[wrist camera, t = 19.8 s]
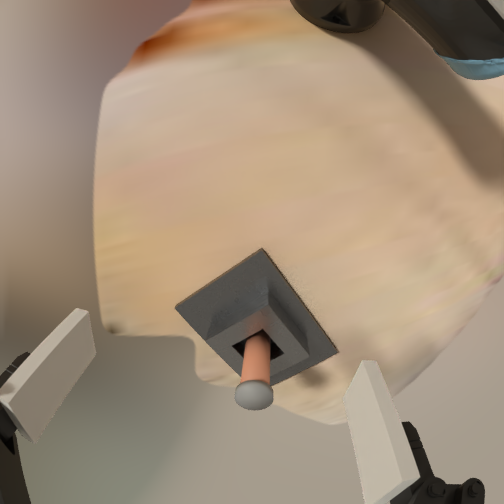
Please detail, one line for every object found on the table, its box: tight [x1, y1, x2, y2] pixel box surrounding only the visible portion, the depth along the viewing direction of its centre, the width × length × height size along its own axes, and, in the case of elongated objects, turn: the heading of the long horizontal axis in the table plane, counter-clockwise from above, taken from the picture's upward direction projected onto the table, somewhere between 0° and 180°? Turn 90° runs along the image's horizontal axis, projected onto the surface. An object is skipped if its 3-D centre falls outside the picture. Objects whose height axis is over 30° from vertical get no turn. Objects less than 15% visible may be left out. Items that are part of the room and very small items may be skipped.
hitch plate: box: [175, 248, 337, 386], centre depth 46 cm, size 24×18×6 cm
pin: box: [235, 329, 273, 410], centre depth 41 cm, size 5×5×15 cm
